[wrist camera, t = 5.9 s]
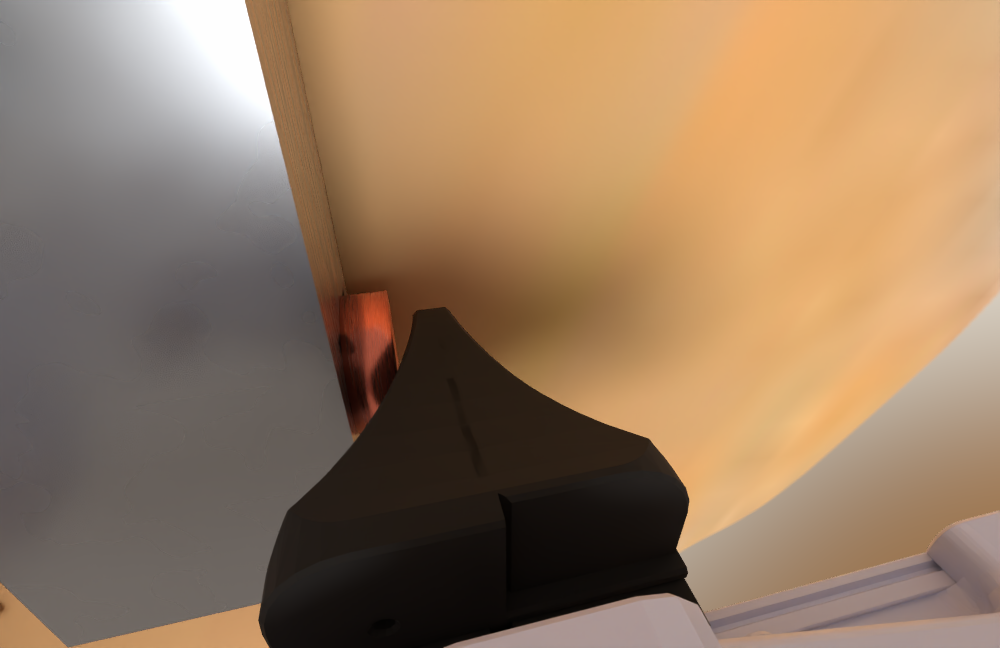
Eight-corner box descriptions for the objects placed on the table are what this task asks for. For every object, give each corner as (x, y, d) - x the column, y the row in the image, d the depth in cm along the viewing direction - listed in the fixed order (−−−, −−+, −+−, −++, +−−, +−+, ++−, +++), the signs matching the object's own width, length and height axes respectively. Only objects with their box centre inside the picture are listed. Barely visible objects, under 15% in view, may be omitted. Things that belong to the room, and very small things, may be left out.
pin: (-69, 441, 12) (-194, 567, 9) (-172, 328, 10) (-364, 445, 7) (399, 370, 14) (409, 455, 11) (383, 267, 12) (390, 340, 9)
